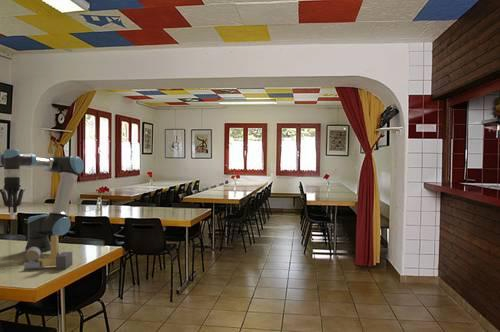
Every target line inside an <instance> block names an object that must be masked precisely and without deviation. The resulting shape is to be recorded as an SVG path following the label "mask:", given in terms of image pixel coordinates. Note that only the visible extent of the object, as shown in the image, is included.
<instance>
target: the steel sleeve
mask: <svg viewBox="0 0 500 332" xmlns="http://www.w3.org/2000/svg"><path fill="white" fill-rule="evenodd" d="M45 267H46V266H41V262H38V259H30V260H29V261H25V262H24V263H23V270H24V271H39V270H42V269H43V268H45Z"/></svg>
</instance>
